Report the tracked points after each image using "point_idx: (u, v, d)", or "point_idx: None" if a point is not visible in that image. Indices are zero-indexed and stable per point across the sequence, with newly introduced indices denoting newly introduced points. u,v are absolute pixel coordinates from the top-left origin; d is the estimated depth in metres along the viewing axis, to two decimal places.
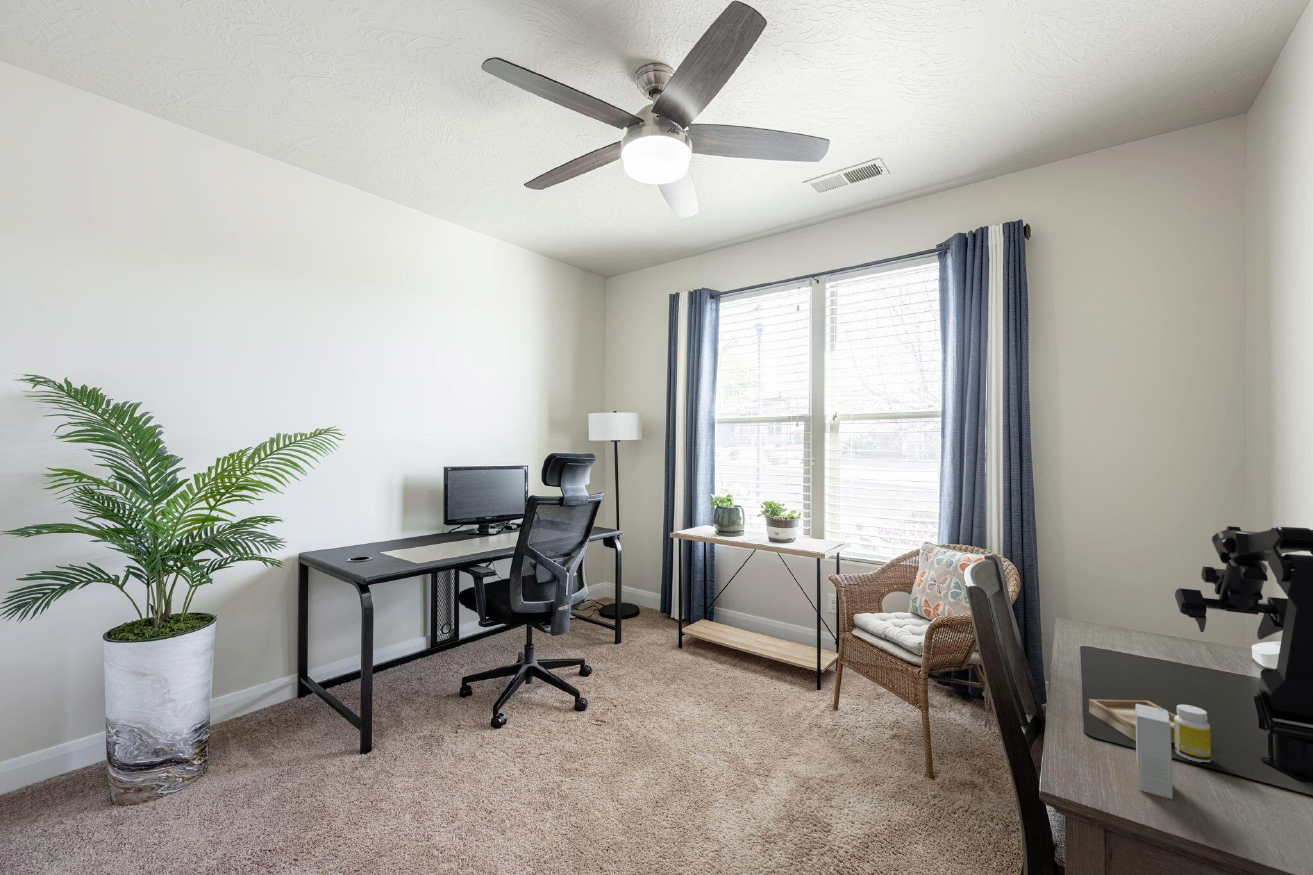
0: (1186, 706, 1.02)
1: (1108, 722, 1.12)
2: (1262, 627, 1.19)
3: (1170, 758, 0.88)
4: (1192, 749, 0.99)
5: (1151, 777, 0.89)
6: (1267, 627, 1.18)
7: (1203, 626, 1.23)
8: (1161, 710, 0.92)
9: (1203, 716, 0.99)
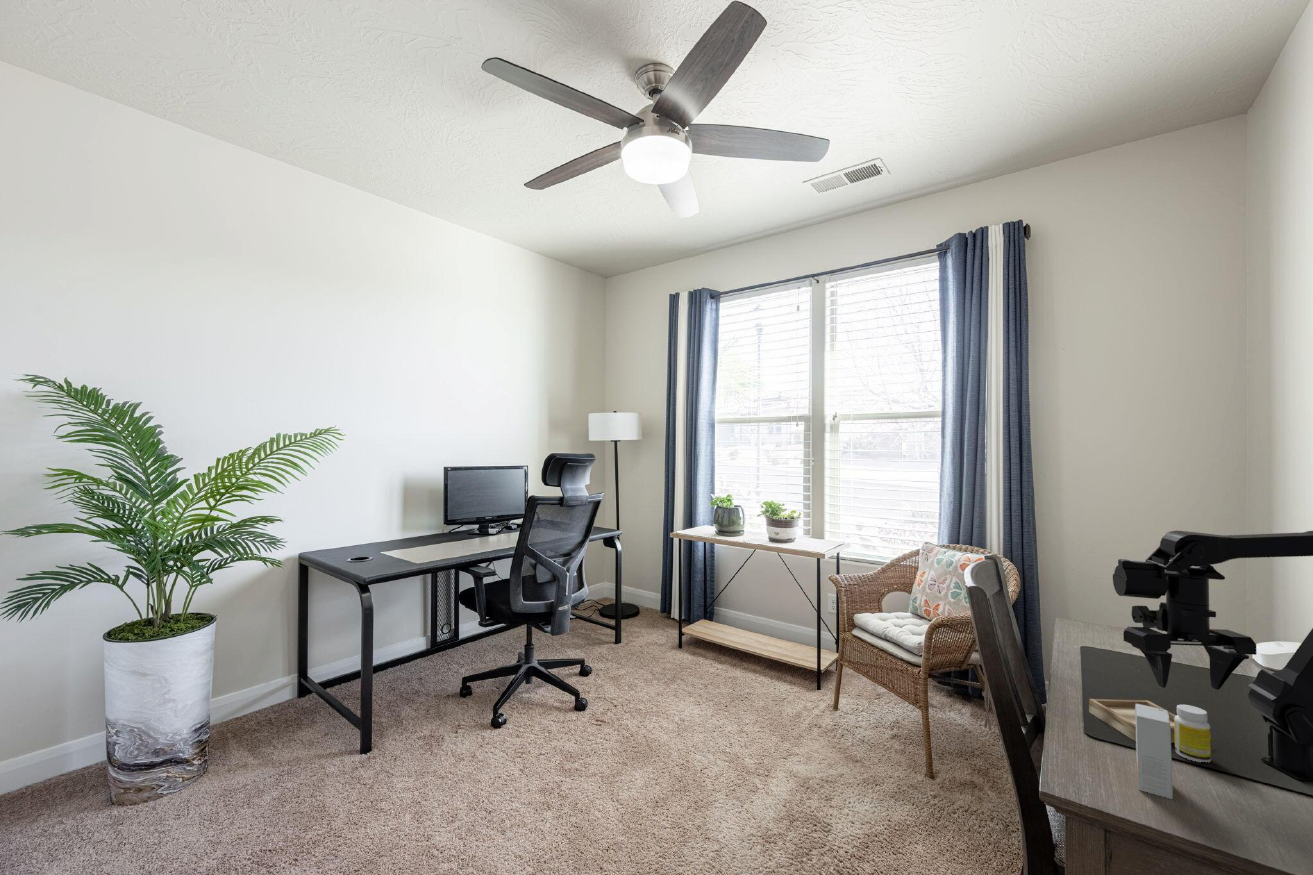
0: (1186, 706, 1.02)
1: (1108, 722, 1.12)
2: (1215, 670, 1.01)
3: (1170, 758, 0.88)
4: (1192, 749, 0.99)
5: (1151, 777, 0.89)
6: (1223, 665, 1.00)
7: (1167, 673, 1.00)
8: (1161, 710, 0.92)
9: (1203, 716, 0.99)
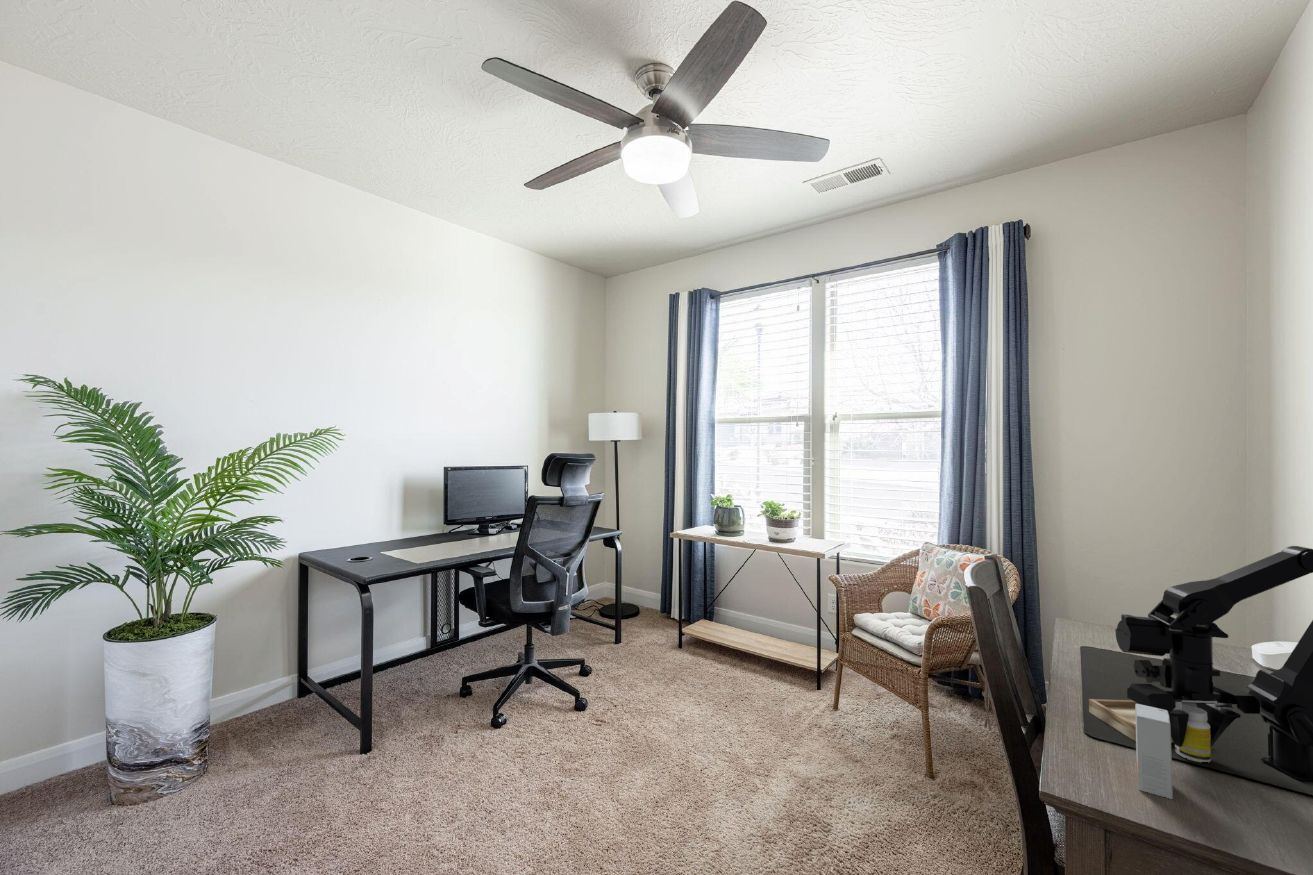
0: (1186, 706, 1.02)
1: (1108, 722, 1.13)
2: None
3: (1170, 758, 0.88)
4: (1192, 749, 0.99)
5: (1151, 777, 0.89)
6: (1215, 723, 0.99)
7: (1184, 733, 0.99)
8: (1161, 710, 0.92)
9: (1203, 716, 0.99)
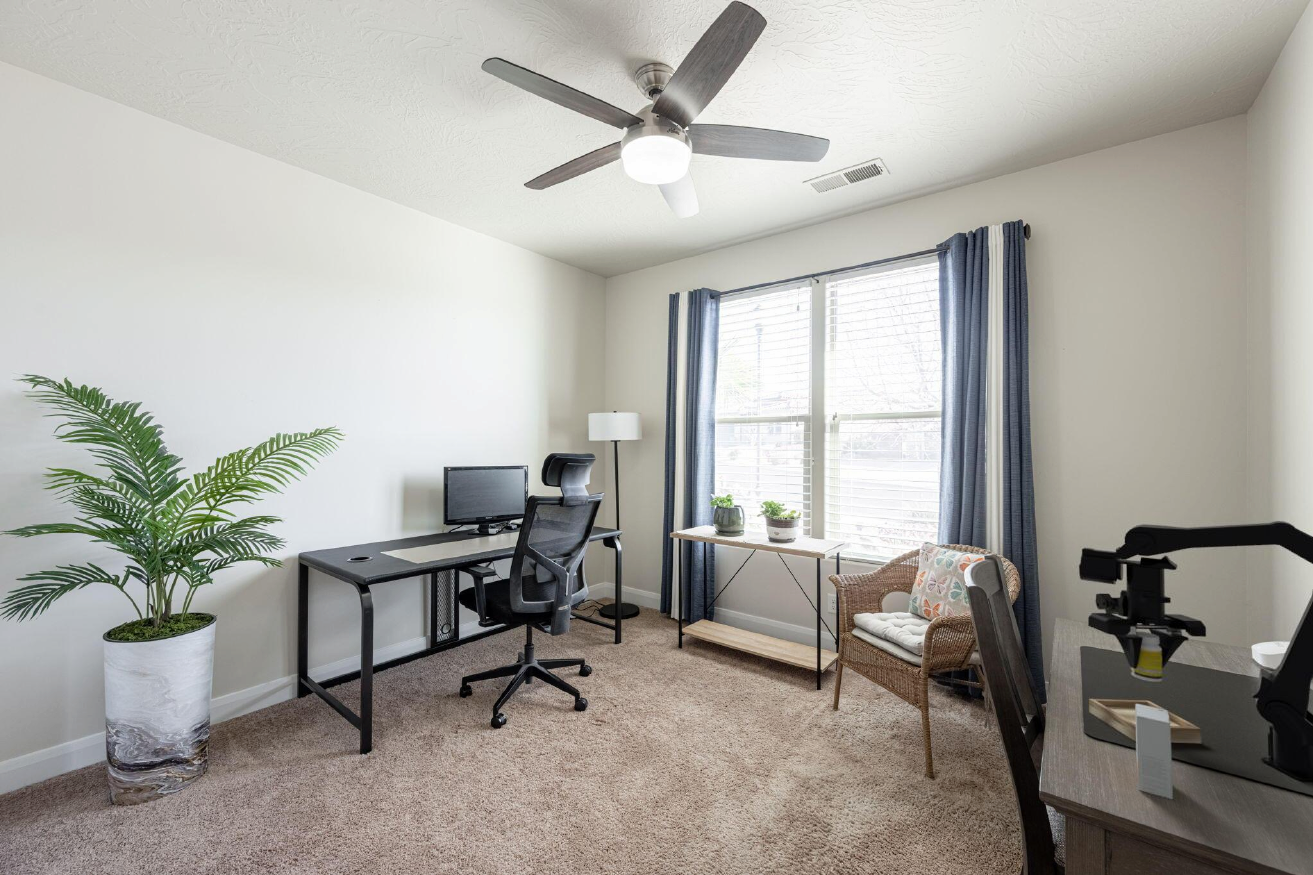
0: (1141, 632, 1.12)
1: (1108, 722, 1.13)
2: None
3: (1170, 758, 0.88)
4: (1145, 669, 1.09)
5: (1151, 777, 0.89)
6: (1166, 646, 1.09)
7: (1138, 655, 1.09)
8: (1161, 710, 0.92)
9: (1155, 640, 1.09)
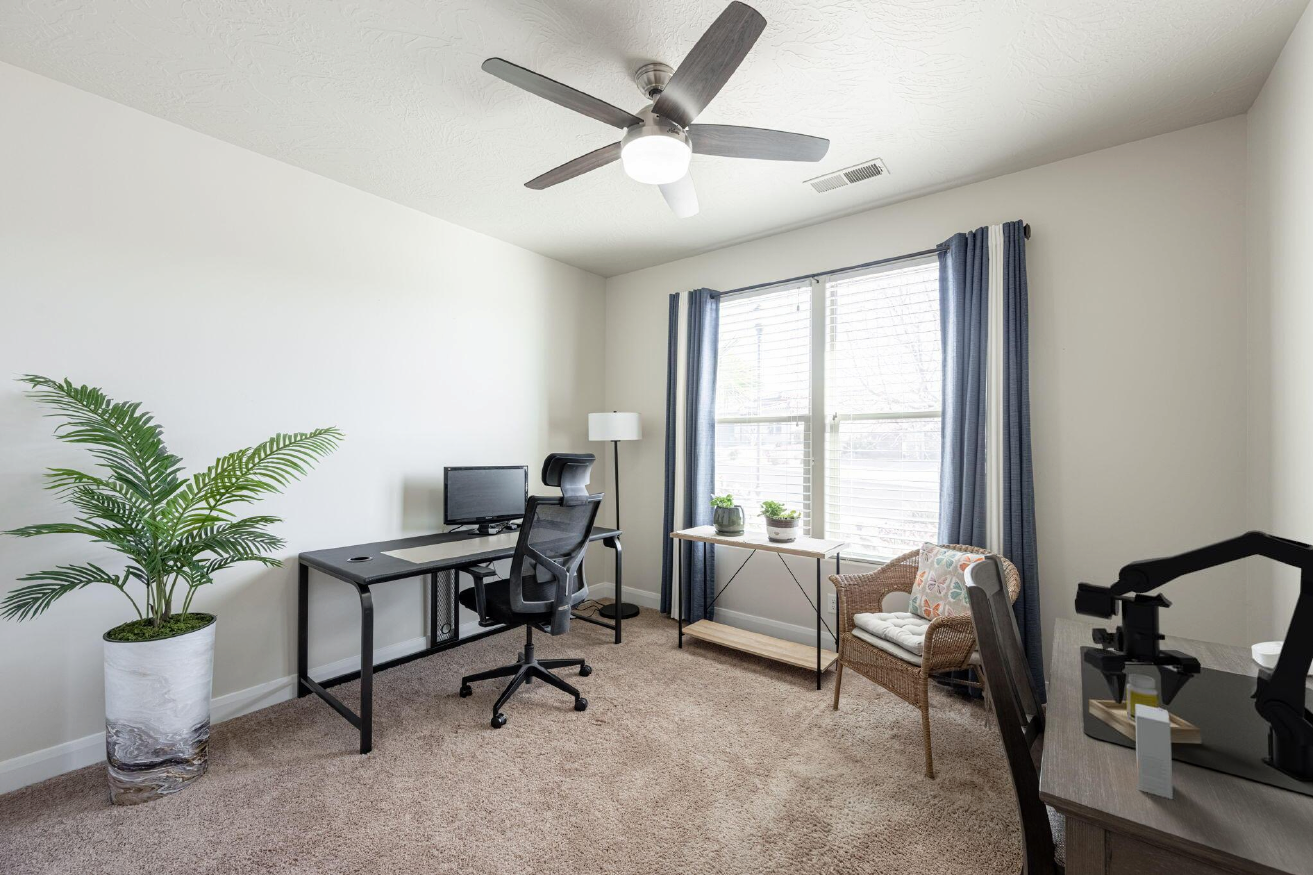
0: (1137, 675, 1.13)
1: (1108, 723, 1.13)
2: (1166, 687, 1.11)
3: (1170, 758, 0.88)
4: None
5: (1151, 777, 0.89)
6: (1172, 683, 1.10)
7: (1122, 691, 1.10)
8: (1161, 710, 0.92)
9: (1151, 683, 1.10)
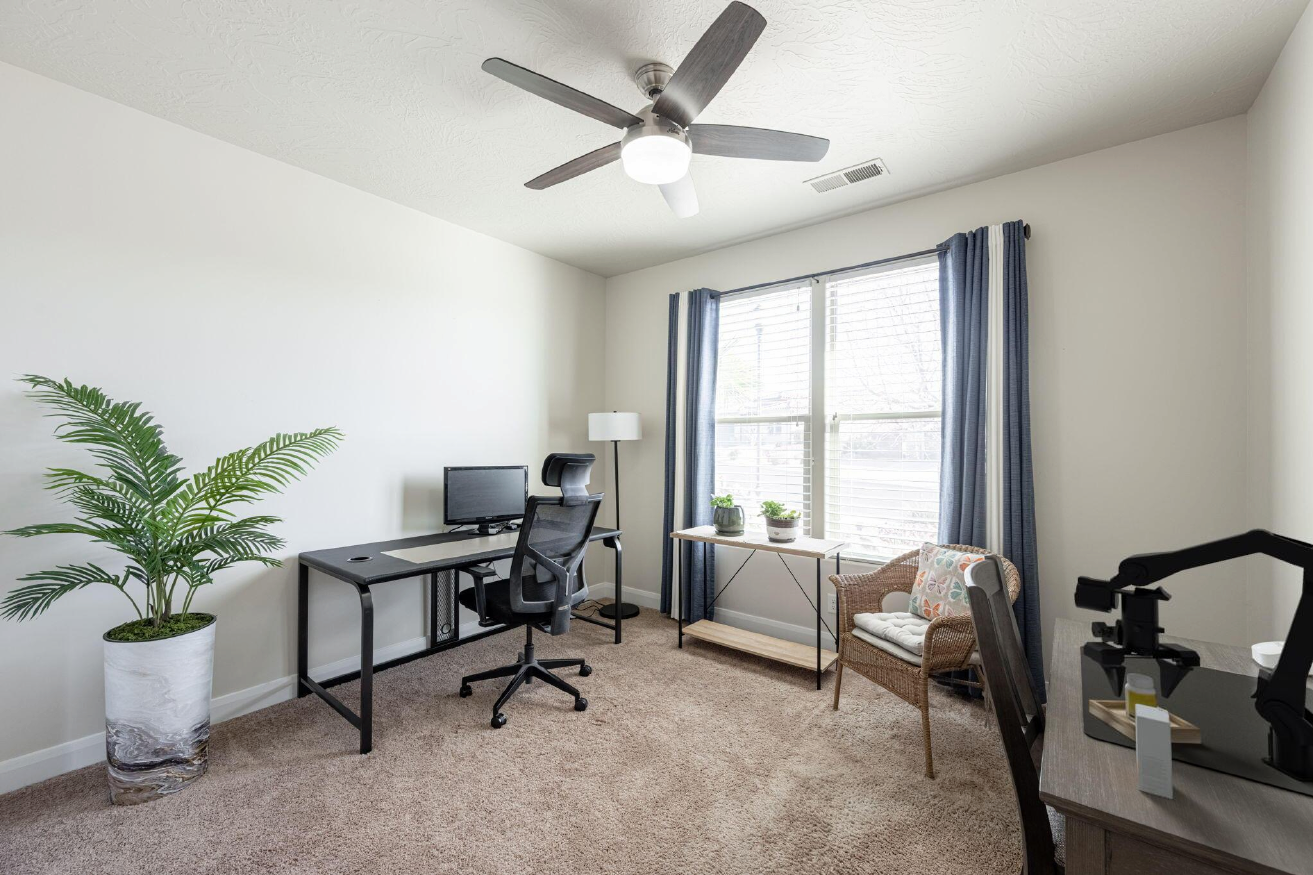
0: (1135, 674, 1.13)
1: (1108, 723, 1.13)
2: (1165, 681, 1.12)
3: (1170, 758, 0.88)
4: None
5: (1151, 777, 0.89)
6: (1172, 676, 1.10)
7: (1122, 684, 1.10)
8: (1161, 710, 0.92)
9: (1149, 683, 1.10)
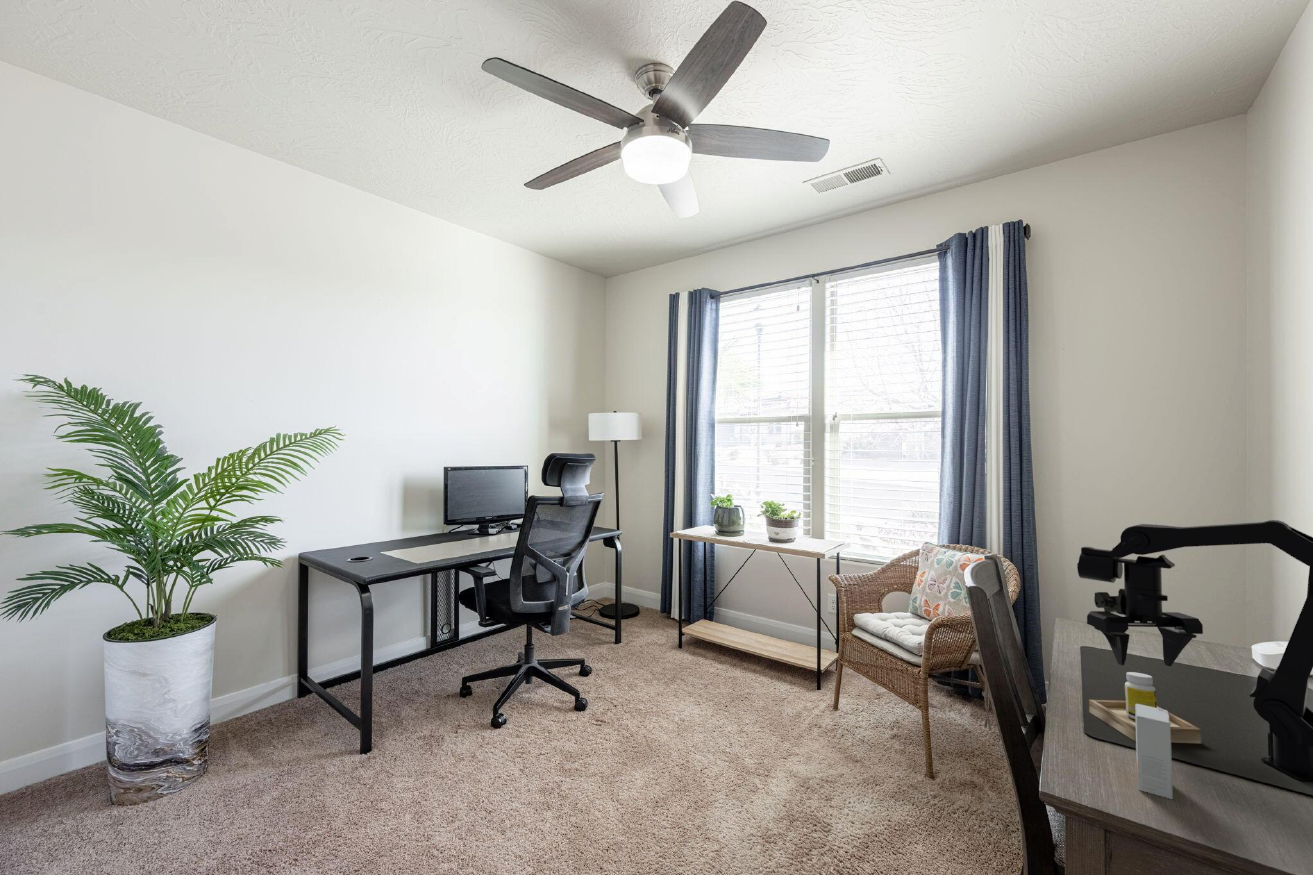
0: (1135, 673, 1.14)
1: (1108, 723, 1.13)
2: (1168, 649, 1.12)
3: (1170, 758, 0.88)
4: None
5: (1151, 777, 0.89)
6: (1174, 644, 1.11)
7: (1125, 652, 1.11)
8: (1161, 710, 0.92)
9: (1147, 679, 1.11)
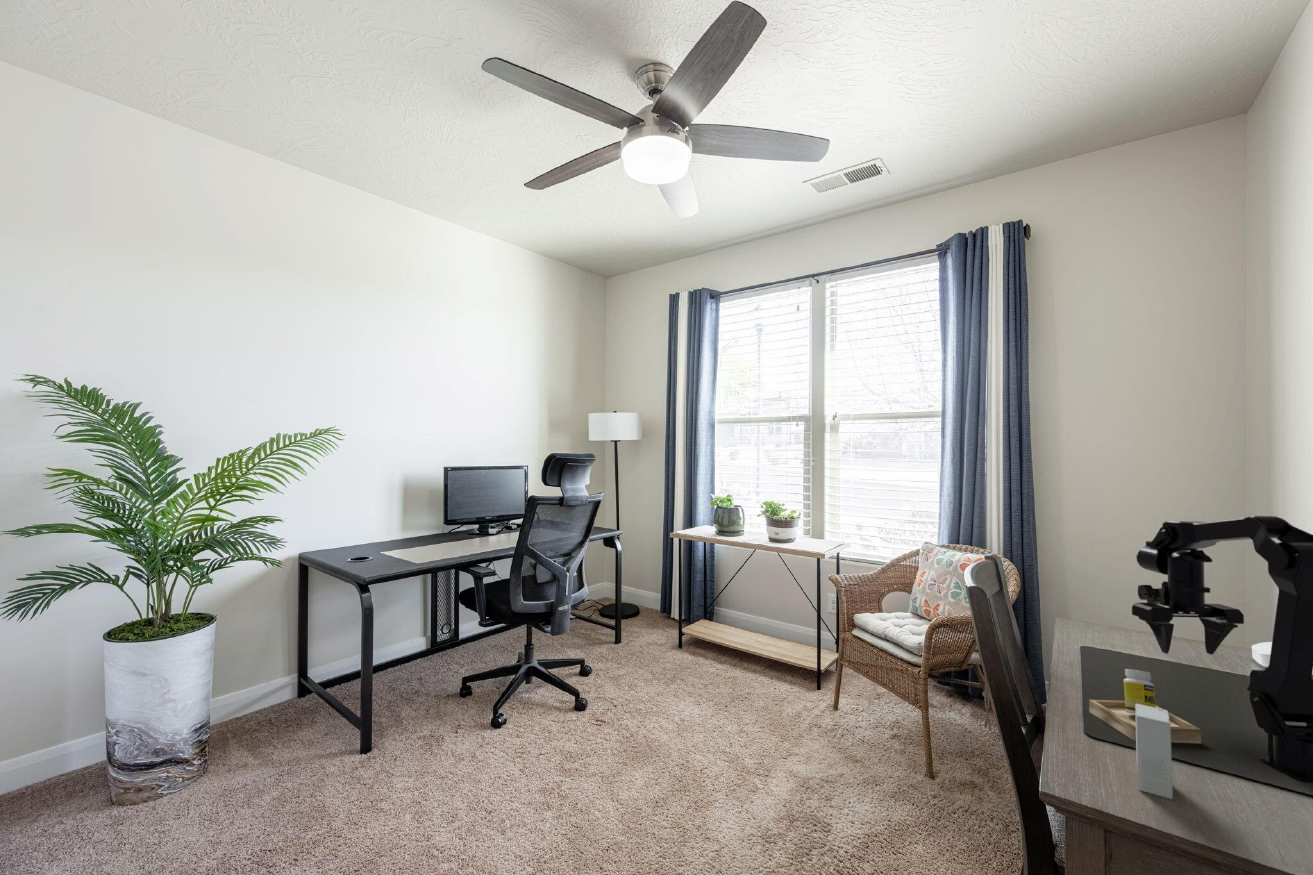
0: None
1: (1108, 723, 1.13)
2: (1210, 638, 1.19)
3: (1170, 758, 0.88)
4: (1127, 701, 1.13)
5: (1151, 777, 0.89)
6: (1216, 633, 1.18)
7: (1169, 641, 1.18)
8: (1161, 710, 0.92)
9: (1136, 672, 1.13)
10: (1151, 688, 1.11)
